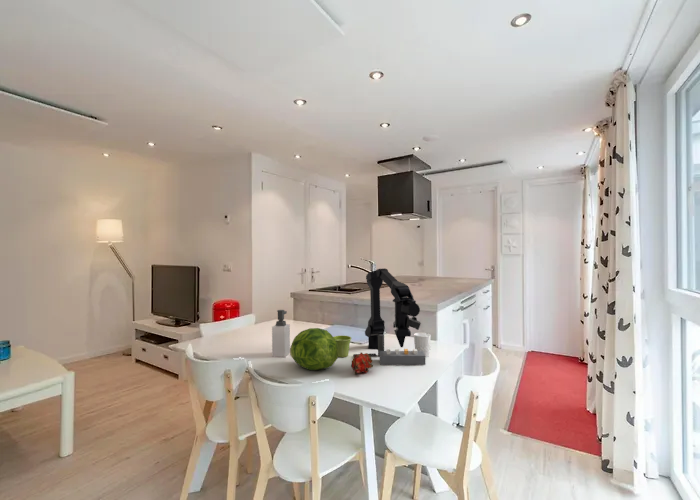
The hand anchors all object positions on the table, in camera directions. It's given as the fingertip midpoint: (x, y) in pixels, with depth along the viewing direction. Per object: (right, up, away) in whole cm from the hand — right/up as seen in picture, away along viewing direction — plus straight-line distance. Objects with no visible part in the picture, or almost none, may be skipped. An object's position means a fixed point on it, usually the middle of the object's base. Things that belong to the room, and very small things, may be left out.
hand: (401, 347), depth 151 cm
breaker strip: (0, -7, 0) cm, 7 cm away
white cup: (+12, -7, +10) cm, 17 cm away
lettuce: (-40, -8, -5) cm, 42 cm away
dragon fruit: (-19, -7, -12) cm, 23 cm away
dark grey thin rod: (-16, -7, +9) cm, 20 cm away
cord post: (-8, -7, +9) cm, 14 cm away
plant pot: (-27, -8, +11) cm, 30 cm away
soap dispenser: (-57, -8, +14) cm, 59 cm away
